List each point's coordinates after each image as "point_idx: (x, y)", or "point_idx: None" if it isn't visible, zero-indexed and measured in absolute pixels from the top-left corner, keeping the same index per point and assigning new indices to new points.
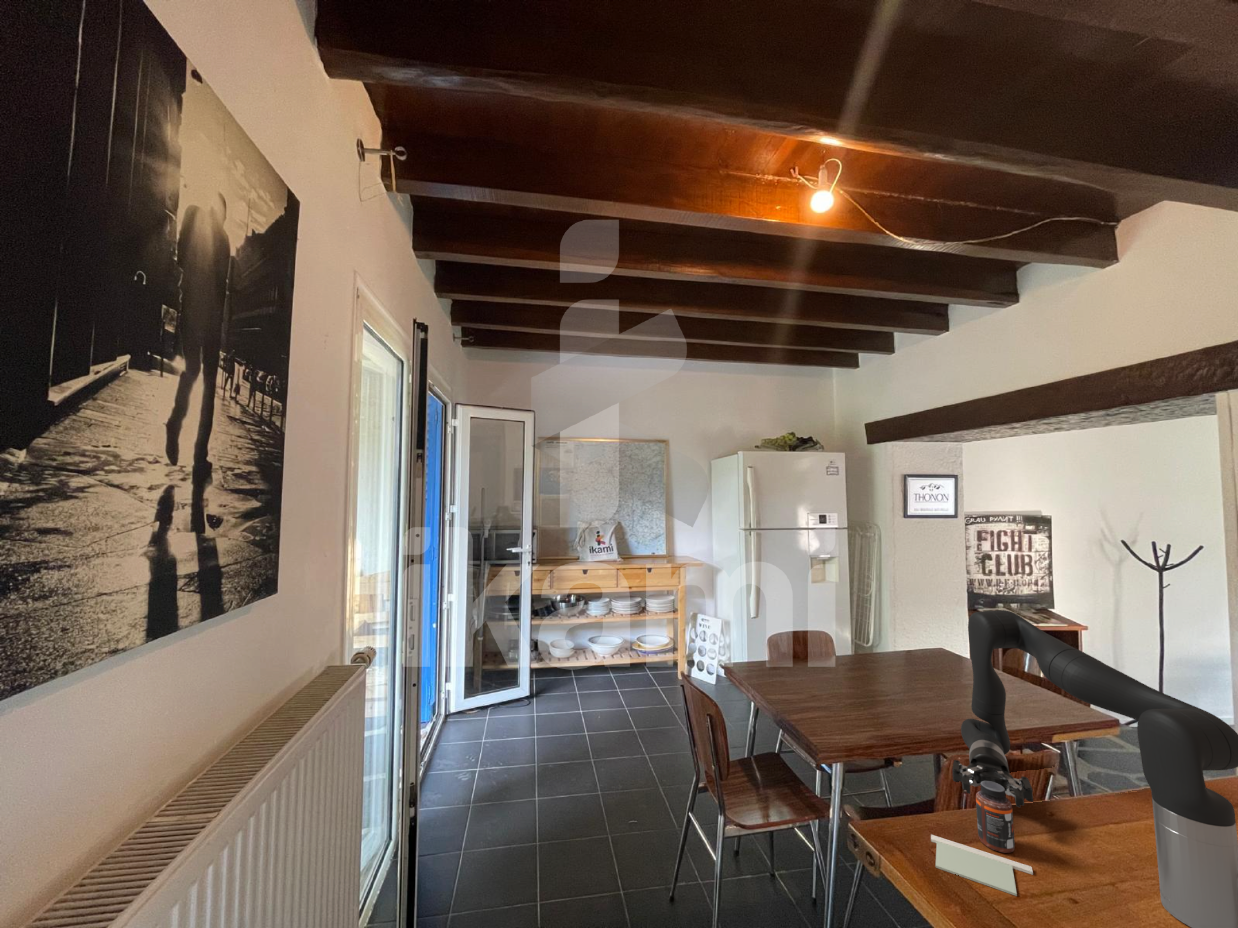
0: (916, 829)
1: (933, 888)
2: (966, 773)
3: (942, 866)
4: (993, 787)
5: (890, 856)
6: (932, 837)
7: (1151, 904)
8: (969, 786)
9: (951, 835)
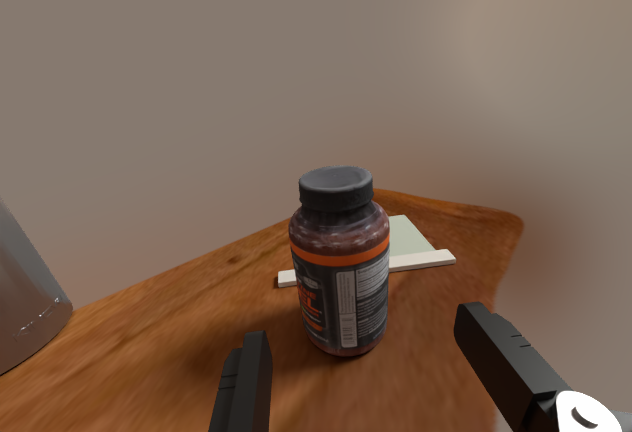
0: (491, 266)
1: (388, 198)
2: (584, 427)
3: (396, 217)
4: (331, 173)
5: (456, 205)
6: (447, 254)
7: (86, 323)
8: (459, 307)
9: (433, 291)
